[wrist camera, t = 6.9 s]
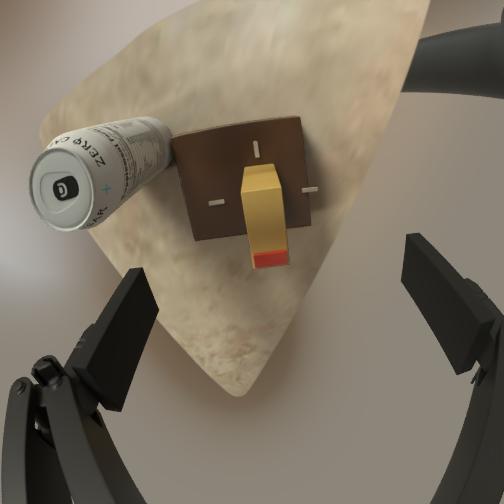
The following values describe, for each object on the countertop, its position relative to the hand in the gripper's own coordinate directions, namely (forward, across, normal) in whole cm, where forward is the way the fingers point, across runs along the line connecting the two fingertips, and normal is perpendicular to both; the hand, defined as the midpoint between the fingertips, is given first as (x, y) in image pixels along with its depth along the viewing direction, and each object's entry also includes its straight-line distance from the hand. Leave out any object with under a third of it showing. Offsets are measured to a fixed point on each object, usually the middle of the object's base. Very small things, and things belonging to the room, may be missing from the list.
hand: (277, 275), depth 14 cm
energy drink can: (+16, -11, +6) cm, 20 cm away
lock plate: (+16, -2, +1) cm, 16 cm away
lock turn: (+13, 0, 0) cm, 13 cm away
